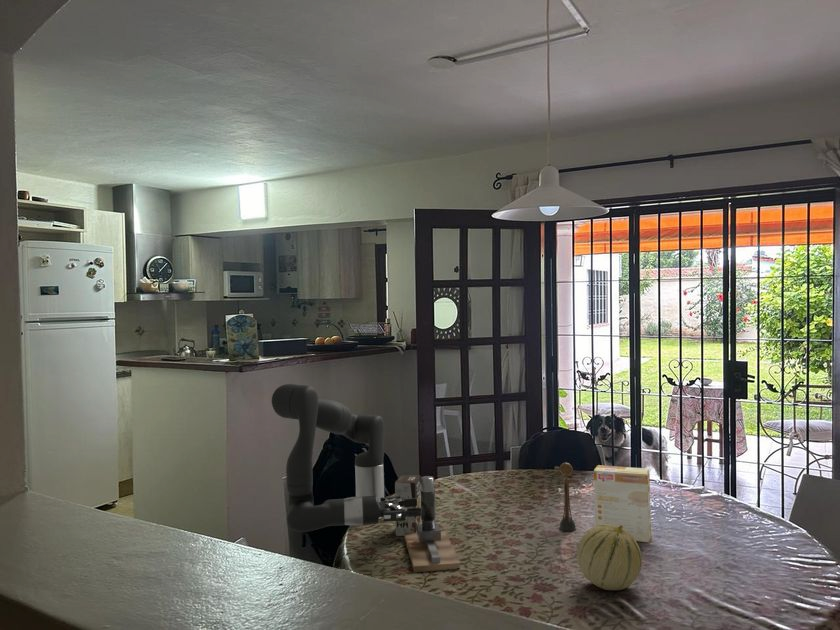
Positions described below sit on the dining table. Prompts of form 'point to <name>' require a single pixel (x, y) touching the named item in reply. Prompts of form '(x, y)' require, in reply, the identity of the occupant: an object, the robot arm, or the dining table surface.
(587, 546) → the cantaloupe
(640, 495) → the coffeecake box
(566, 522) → the wooden tabletop sculpture
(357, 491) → the robot arm
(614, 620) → the dining table surface
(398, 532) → the coffee box
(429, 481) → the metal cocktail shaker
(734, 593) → the dining table surface
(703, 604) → the dining table surface
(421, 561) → the press bench
